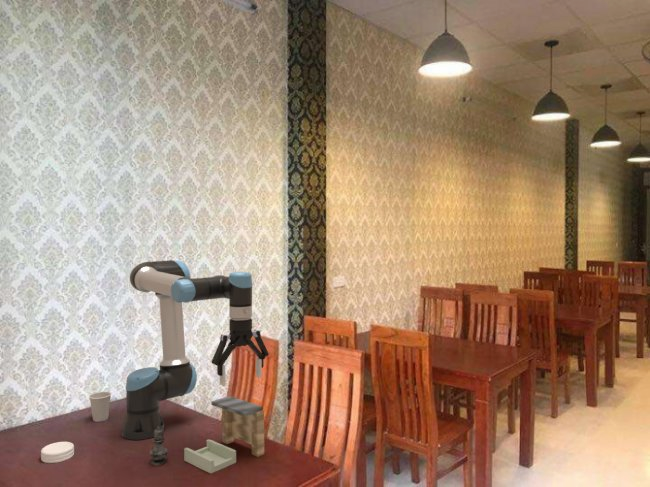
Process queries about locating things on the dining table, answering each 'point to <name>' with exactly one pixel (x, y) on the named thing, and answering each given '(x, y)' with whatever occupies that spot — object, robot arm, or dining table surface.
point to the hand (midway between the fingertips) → (241, 381)
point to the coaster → (57, 452)
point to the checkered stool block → (242, 422)
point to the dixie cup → (100, 405)
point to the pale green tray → (211, 457)
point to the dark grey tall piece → (158, 448)
